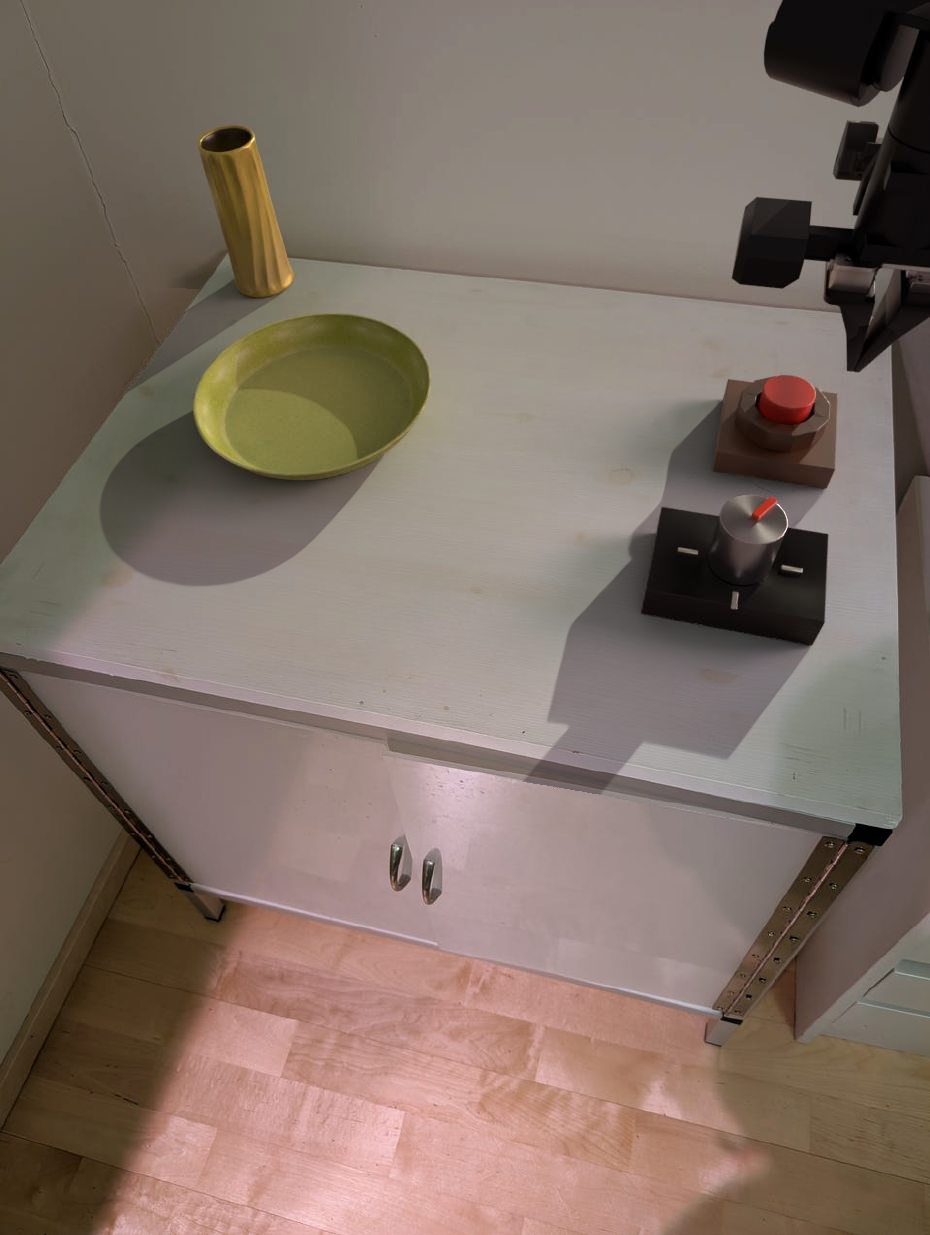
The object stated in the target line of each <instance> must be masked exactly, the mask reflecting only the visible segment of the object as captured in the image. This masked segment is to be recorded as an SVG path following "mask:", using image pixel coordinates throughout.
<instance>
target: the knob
mask: <svg viewBox="0 0 930 1235" xmlns="http://www.w3.org/2000/svg"><path fill="white" fill-rule="evenodd" d="M718 516H719V518H718V521H717V525H716V528H715V531H714V535H713V538H712V542H711V545H710V548H709V552H708V563H709V566H710V568H711V569H712V571H713V572H714V573H715V574H716V575H717V576H718V577H720V578H721V579H723V580H725V581H727V582H729V583H732V584H737V585H750V584H755V583H757V582H760V581H761V580H763V579H764V578H765V577H766V576H767V575H768V574H769V572H770V569H771V567H772V565H773V562H774V560H775V557H776V555H777V552H778V550H779V547H780V545H781V542H782V540H783V538H784V535H785V533H786V530H787V527H788V526H789V521H788V517H787V514H786V511H785V510H784V509H783V508H782V507H781V506H780V505H779V504H778V499H776V498H775V497H772V496H769V497H766V496H762V495H757V494H741V495H737V496H734V497H732V498H730V499H729V500H727V501H726V502H724V504H723V505H722V507H721V509H720V511H719V515H718Z"/></svg>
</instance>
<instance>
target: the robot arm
mask: <svg viewBox="0 0 930 1235" xmlns="http://www.w3.org/2000/svg"><path fill="white" fill-rule="evenodd" d="M763 66H764V70H765V74H766V75H767V76H768V77H769V79H771V80H774V81H778V82H780V83H783V84H786V85H789V86H793V87H795V88H797V89H798V88H799V89H802V90H805V91H807V92H811V93H814V94H817V95H820V96H823V97H826V98H829V99H831V100H834V101H835V100H836V101H839V102H841V103H844V104H846V105H850V106H853V107H855V108H856V107H857V108H861V107H865V106H866V105H868V104H870V103H871V102H872V101H873V100H874V99H875V98H876V97H877V96H878V95H879V94H880V92H884V93H889V92H890V91H892V90H893V89H895V88H896V87H897V86H898V85H899V83H901V84H900V86H899V90H898V94H897V97H896V99H895V102H894V105H893V108H892V112H891V114H890V117H889V121H888V123H887V126H886V129H885V133H884V135H883V137H879V132H880V128H881V127H880V124H879V123H877V122H876V121H867V120H849V119H847V120H846V123H845V126H844V129H843V132H842V136H841V139H840V143H839V146H838V149H837V153H836V158H835V161H834V165H833V169H832V175H833V177H834V179H835V180H839V181H853V182H859V186H858V188H857V192H856V195H855V197H854V202H853V204H852V216H854V217H855V216H856V220H855V223H854V226H853V228H849V227H837V226H826V225H814V224H811V219H812V218H811V217H812V206H813V201H811V200H800V199H788V198H787V199H786V198H776V197H775V198H774V197H763V196H756V197H754V199H752V200H751V201H750V202H749V203H748V204H746V205H745V206H744V210H743V214H742V219H741V224H740V229H739V233H738V238H737V245H736V250H735V255H734V262H733V266H732V267H733V268H732V273H731V279H732V280H733V281H734V282H736V283H737V284H738V285H741V286H742V285H743V286H753V287H761V288H771V289H772V288H773V289H780V290H783V289H784V288H786V287H788V286H790V285H791V284H793V283H794V282H796V281H798V280H799V279H800V277H801V274H802V270H803V267H804V263H805V261H814V262H815V261H816V262H825V265H824V266H825V268H824V281H823V282H824V283H823V295H822V296H823V302H825V303H826V304H828V305H831V306H837V307H839V310H840V314H841V318H842V322H843V326H844V331H845V338H846V339H845V344H846V346H845V347H846V371H847V372H850V373H851V372H852V373H861V372H862V371H863V370H864V369H866V367H867V366H868V365H869V364H871V363H872V362H873V361H874V360H875V359H876V358H877V357H879V356H880V355H881V354H882V353H884V352H885V351H886V350H887V349H888V348H889V347H890V346H891V345H893V344H894V343H895V342H896V341H898V340H899V339H900V338H902V337H903V336H905V335H906V334H908V333H909V332H910V331H912V330H913V329H915V328H916V327H918V326H919V325H921V324H922V323H924V322H925V321H927V320H928V319H929V318H930V0H781V2H780V5H779V6H778V8H777V12H776V14H775V17H774V20H773V21H771V23H770V24H769V26H768V28H767V32H766V36H765V41H764V49H763ZM880 269H887V270H893V271H892V274H891V276H890V280H889V283H888V286H887V287H886V290H885V292H884V294H883V297H882V298H881V300H880V302H879V304H878V306H877V308H876V310H875V312H874V308H875V305H876V276H877V275H878V272H879V270H880ZM873 313H874V314H873ZM872 315H873V316H872Z"/></svg>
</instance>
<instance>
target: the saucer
mask: <svg viewBox="0 0 930 1235" xmlns="http://www.w3.org/2000/svg"><path fill="white" fill-rule="evenodd" d="M431 387H432V374H431V368H430V365H429V361H428V359H427V356H426V355H425V353H424V351H423V350H422V349H421V347H420V346H419V345H418V344H417V342H416V341H415V340H414V339H412V337H410V336H409V335H408V334H406V332H404V331H403V330H401V329H399V328H397V327H396V326H394V325H391V324H389V323H387V322H385V321H382V320H380V319H377V318H373V317H369V316H365V315H360V314H354V313H345V312H321V313H312V314H311V313H309V314H302V315H298V316H293V317H287V318H284V319H280V320H277V321H274V322H272V323H268V324H266V325H263V326H262V327H259V328H257V329H255V330H253V331H251V332H249V333H247V334H246V335H245V334H244V335H243V336H242V337H241V338H238V339H237V340H235V341H234V342H233V343H231V344H230V345H229V346H227V347H226V348H225V349H223V351H221V352H220V353H219V354H218V355H217V357H215V359H213V361H212V362H211V363H210V364H209V365H208V367H207V368H206V369H205V371H204V373H202V376H201V378H200V380H199V381H198V383H197V385H196V388H195V392H194V395H193V402H192V413H193V415H192V416H193V420H194V423H195V426H196V429H197V431H198V433H199V435H200V437H201V438H202V440H203V441H204V443H205V444H206V445H207V446H208V447H209V448H210V450H212V451H213V452H214V453H216V454H217V456H220V457H221V458H222V459H224V460H226V461H227V462H229V463H231V464H232V465H234V466H237V467H239V468H241V469H243V470H245V471H248V472H250V473H253V474H256V475H260V476H263V477H268V478H272V479H276V480H277V479H279V480H289V481H313V480H321V479H327V478H333V477H337V476H341V475H344V474H347V473H350V472H353V471H355V470H358V469H360V468H363V467H364V466H367V465H369V464H371V463H372V462H374V461H376V460H377V459H380V458H381V457H382V456H384V455H385V454H386V453H388V452H389V451H391V450H392V449H393V448H394V447H395V446H396V445H397V444H399V443H400V442H401V441H402V440H403V439H404V438H405V437H406V436H407V435H408V433H409V432H410V431H411V430H412V428H413V427H414V426H415V424H417V421H419V418H420V417H421V415H422V413H423V411H424V410H425V407H426V405H427V403H428V400H429V397H430V393H431V389H432V388H431Z"/></svg>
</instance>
